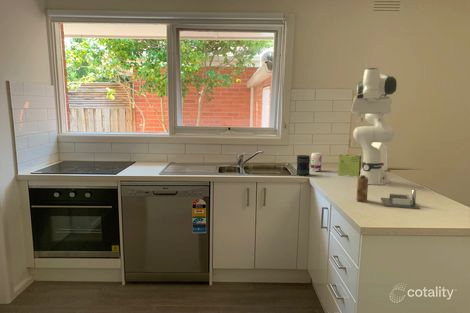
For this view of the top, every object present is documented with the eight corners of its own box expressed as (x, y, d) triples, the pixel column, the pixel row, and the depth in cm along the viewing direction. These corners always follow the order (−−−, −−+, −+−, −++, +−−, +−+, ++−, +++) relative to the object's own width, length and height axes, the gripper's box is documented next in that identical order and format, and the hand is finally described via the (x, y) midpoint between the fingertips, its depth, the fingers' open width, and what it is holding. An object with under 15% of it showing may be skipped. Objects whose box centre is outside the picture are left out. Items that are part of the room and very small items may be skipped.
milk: (365, 169, 269) (367, 138, 266) (375, 167, 274) (377, 138, 270) (377, 171, 259) (379, 139, 255) (387, 170, 263) (389, 139, 260)
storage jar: (294, 175, 244) (295, 156, 242) (298, 173, 252) (298, 154, 250) (307, 176, 239) (308, 157, 237) (310, 174, 248) (311, 155, 246)
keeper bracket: (384, 206, 165) (385, 191, 164) (380, 199, 178) (381, 185, 177) (419, 209, 160) (420, 193, 159) (412, 201, 173) (413, 187, 172)
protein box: (358, 177, 237) (359, 156, 235) (337, 175, 245) (338, 155, 242) (360, 174, 246) (361, 154, 244) (340, 172, 254) (341, 153, 251)
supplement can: (322, 170, 262) (322, 152, 260) (319, 172, 255) (320, 154, 253) (312, 169, 266) (313, 152, 264) (309, 171, 259) (310, 153, 257)
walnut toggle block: (357, 201, 174) (358, 176, 172) (356, 199, 179) (357, 174, 177) (366, 202, 173) (368, 176, 171) (365, 199, 177) (367, 175, 175)
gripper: (390, 97, 175) (389, 122, 174) (351, 98, 180) (350, 122, 180) (392, 95, 169) (392, 120, 168) (352, 95, 174) (351, 120, 174)
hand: (370, 121), depth 174 cm, fingers open, 8 cm apart
